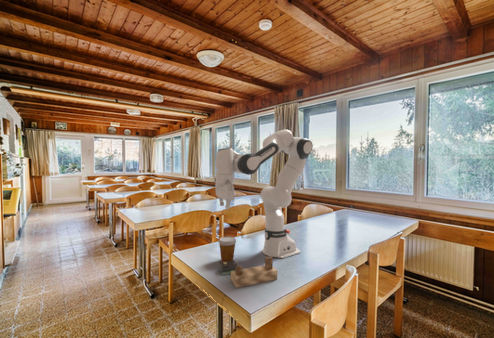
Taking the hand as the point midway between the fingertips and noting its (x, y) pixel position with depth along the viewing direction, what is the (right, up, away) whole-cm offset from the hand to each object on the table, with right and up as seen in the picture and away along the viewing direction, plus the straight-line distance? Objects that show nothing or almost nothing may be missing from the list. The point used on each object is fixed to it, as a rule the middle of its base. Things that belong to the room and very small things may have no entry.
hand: (224, 207), depth 116 cm
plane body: (+15, -31, -11) cm, 36 cm away
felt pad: (+2, -31, -3) cm, 31 cm away
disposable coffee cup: (+1, -31, +9) cm, 32 cm away
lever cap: (+2, -30, -3) cm, 30 cm away
